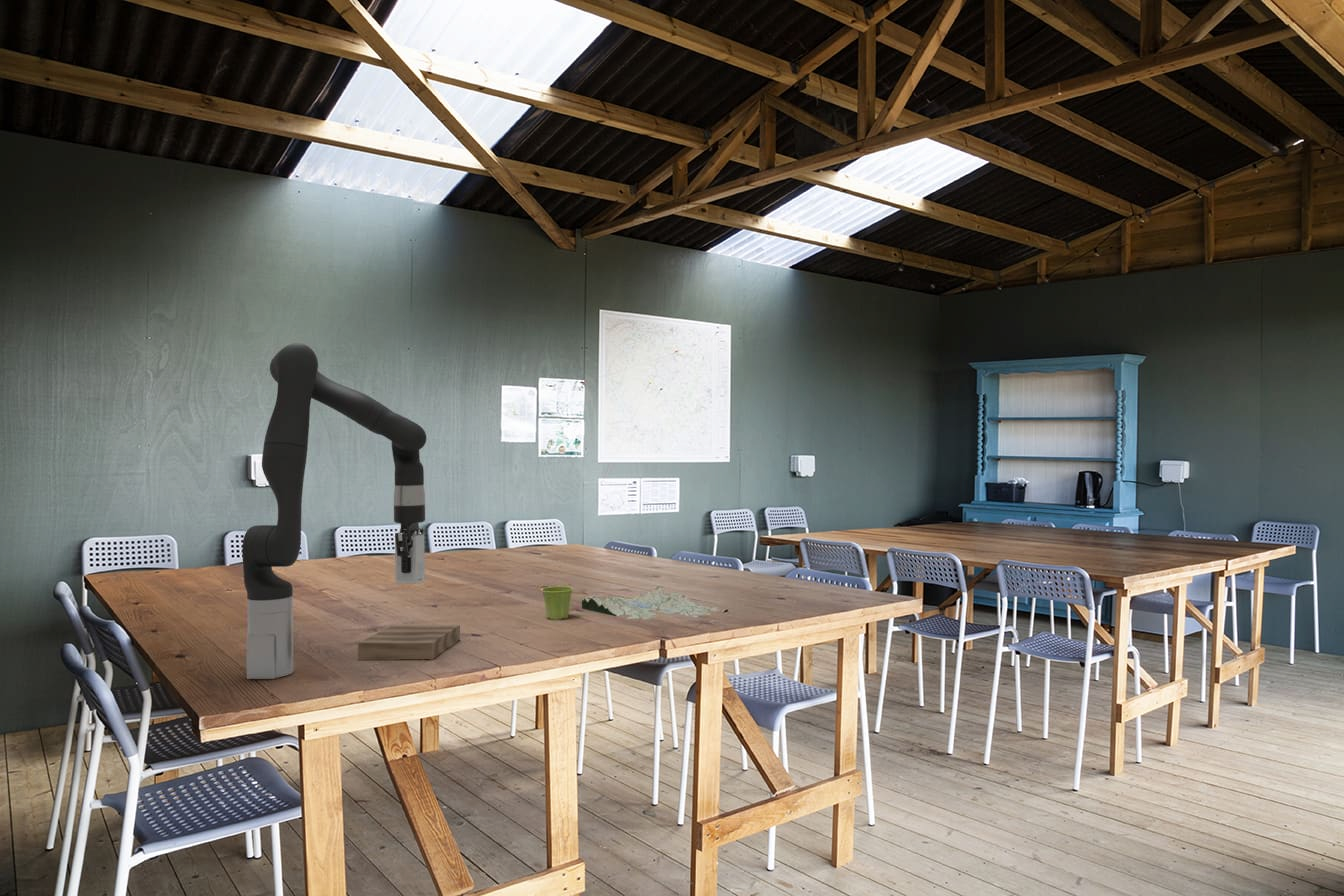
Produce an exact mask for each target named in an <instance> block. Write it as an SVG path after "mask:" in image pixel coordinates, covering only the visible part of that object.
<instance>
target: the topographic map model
mask: <svg viewBox="0 0 1344 896" xmlns="http://www.w3.org/2000/svg"><path fill="white" fill-rule="evenodd" d="M582 609H583V610H587V611H590V612H596V613H598V614H599V613H600V614H603V615H604V614H605V615H609V616H614V617H618V618H619V617H620V615H621V616H623V615H626V616H627V617H626V619H627V620H629V619H632V620H633V619H641V621H644V620H645V621H646V620H652V619H654V618H657V616H656V613H655V611H656V612H657V613H659V612H660V613H665V614H675V613H678V614H679V615H683V616H686V617H691V618H698V617H701V616H703V615H707V616H709V615H710V616H711V615H712V614H711V613H710V612H708V611H712V612H718V611H720V609H719V608H718V607H717V606H716V607H709V606H706V605H701V604H697V603H696V602H694V601H691V600H690V598H689V597H688V596H687V595H685V594H681V595H677V593H676V592H672V593H671V594H670V595H669V594H666V592H665V591H664V589H663V588H660V587H659V586H658V585H656V586H655V587H653V589H652V590H650V591H648V593H646V595H643V594H638V595H635V596H634V597H633V598H626V597H622V596H614V595H610V597H606V598H605V599H602V598H598V597H596V596H594V595H590V596H586V597H584V598H581V610H582ZM658 610H659V611H658ZM727 612H729V609H727V608H725V609H722V611H721V613H722V614H723V613H727Z"/></svg>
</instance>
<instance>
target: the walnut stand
mask: <svg viewBox="0 0 1344 896" xmlns="http://www.w3.org/2000/svg"><path fill="white" fill-rule="evenodd" d="M458 640H461V625H460V624H392V625H390V626H387V627H386V628H384V629H382V630H381V631H378V632H376V633H375V634H372V635H370V636H369V637H367V638H365V639H363V640H361V641H360V642H358V643H357V659H358V660H357V661H390V660H391V661H401V660H400V659H423V660H422V661H425V660H424V659H430V660H429V661H433V660H435V659H436V658H437V657H439V656H440V655H441V654H442V652H443V651H444V650H446V649H447V648H448V649H450V648H451V647H453V646H454V645H455V644H457V643H458V642H459V641H458ZM457 641H458V642H457ZM456 642H457V643H456ZM454 643H455V644H454ZM453 644H454V645H453ZM452 645H453V646H452ZM450 646H451V647H450ZM449 647H450V648H449ZM448 649H447V650H448ZM447 650H446V651H447ZM444 652H445V651H444ZM444 652H443V653H444ZM440 653H441V654H440ZM439 654H440V655H439ZM438 655H439V656H438ZM435 657H436V658H435ZM434 658H435V659H434ZM395 659H396V660H395ZM398 659H399V660H398Z"/></svg>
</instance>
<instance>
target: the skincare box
mask: <svg viewBox="0 0 1344 896" xmlns="http://www.w3.org/2000/svg"><path fill="white" fill-rule="evenodd" d="M411 539H413V548H412V549H411V572H410V573H402V572H401V558H400V556H397V548H396V539H395V538H394V550H395V552H394V553H395V555H394V557H395V559H394V561H395V562H394V564H395V568H394V569H395V584H403V585H407V584H410V585H411V584H413V585H418V584H421V583H424V582H426V569H425V568H426V566H425V565H426V563H425V561H426V560H425V534H424V533H423V534H419V535H415V536H411ZM410 544H411V541H410V543H408V545H410ZM404 551H405V549H404Z"/></svg>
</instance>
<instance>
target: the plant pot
mask: <svg viewBox="0 0 1344 896" xmlns="http://www.w3.org/2000/svg"><path fill="white" fill-rule="evenodd" d="M573 591H574V587H572V586H563V585H562V586H559V585H557V586H549V587H548V586H547V587H543V588H541V592H542V596H543V599H544V604H545V611H546V618H547V619H550V620H552V621H555V620H556V621H560V620H562V619H567V618H569V614H570V613H569V612H570V611H569V610H570V605H571V604H570V603H571V596H572V595H573V594H572V592H573Z"/></svg>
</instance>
